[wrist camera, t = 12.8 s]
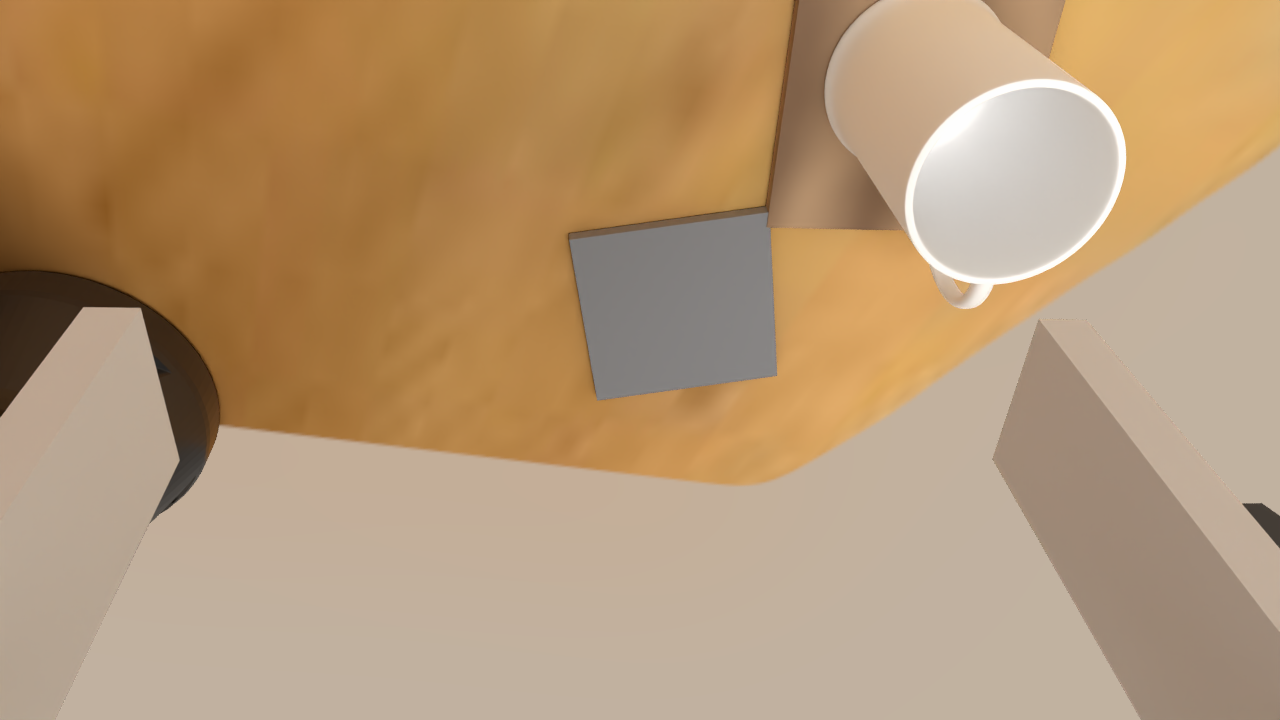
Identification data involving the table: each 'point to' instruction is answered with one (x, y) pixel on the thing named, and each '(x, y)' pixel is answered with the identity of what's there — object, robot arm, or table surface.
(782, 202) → the walnut coaster
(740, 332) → the slate coaster
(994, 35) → the mug
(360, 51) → the table surface
